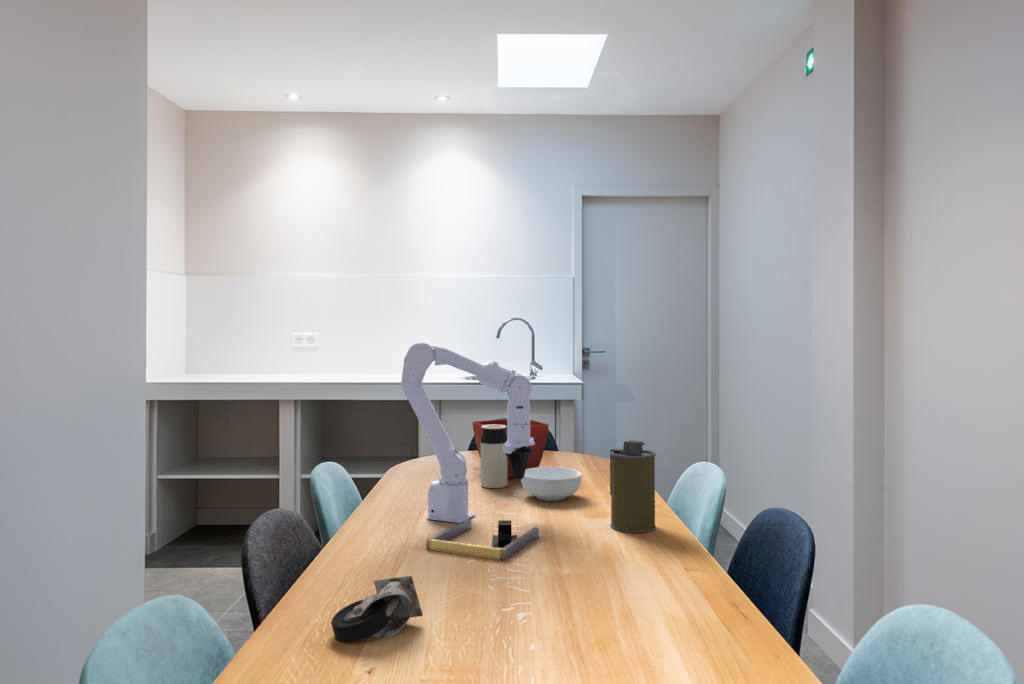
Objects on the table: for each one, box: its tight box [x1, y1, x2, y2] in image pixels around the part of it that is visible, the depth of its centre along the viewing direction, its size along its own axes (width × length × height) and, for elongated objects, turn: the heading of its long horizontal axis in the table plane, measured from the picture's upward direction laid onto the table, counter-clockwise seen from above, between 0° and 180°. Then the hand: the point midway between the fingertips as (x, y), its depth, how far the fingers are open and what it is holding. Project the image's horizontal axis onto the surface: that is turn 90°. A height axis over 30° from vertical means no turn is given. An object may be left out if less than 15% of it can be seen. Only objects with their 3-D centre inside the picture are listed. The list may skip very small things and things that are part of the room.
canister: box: [609, 439, 657, 534], centre depth 158 cm, size 11×10×20 cm
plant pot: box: [471, 418, 549, 480], centre depth 220 cm, size 19×19×17 cm
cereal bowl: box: [520, 466, 583, 502], centre depth 188 cm, size 17×17×7 cm
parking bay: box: [425, 518, 540, 562], centre depth 146 cm, size 18×18×2 cm
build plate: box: [491, 519, 518, 548], centre depth 147 cm, size 12×7×5 cm, turn 0°
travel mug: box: [480, 424, 508, 489], centre depth 203 cm, size 8×8×18 cm
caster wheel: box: [330, 575, 423, 644], centre depth 101 cm, size 7×11×10 cm
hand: (518, 478), depth 168 cm, fingers closed
